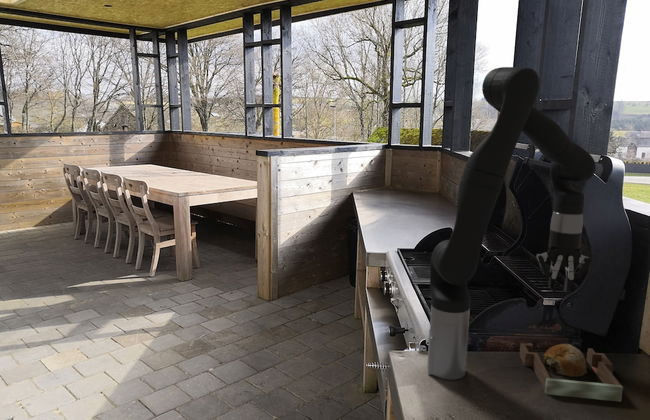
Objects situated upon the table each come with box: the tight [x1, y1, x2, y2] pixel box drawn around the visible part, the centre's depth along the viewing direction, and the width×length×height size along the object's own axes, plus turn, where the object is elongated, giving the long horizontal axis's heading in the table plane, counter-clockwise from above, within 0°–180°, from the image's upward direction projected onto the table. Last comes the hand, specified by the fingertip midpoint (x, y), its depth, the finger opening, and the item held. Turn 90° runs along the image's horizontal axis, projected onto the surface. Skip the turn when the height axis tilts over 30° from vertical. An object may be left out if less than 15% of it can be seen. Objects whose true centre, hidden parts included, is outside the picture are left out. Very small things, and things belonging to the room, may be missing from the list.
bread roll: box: [542, 343, 588, 378], centre depth 124 cm, size 10×10×8 cm
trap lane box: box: [519, 342, 624, 403], centre depth 120 cm, size 20×20×4 cm
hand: (559, 291), depth 131 cm, fingers open, 3 cm apart
